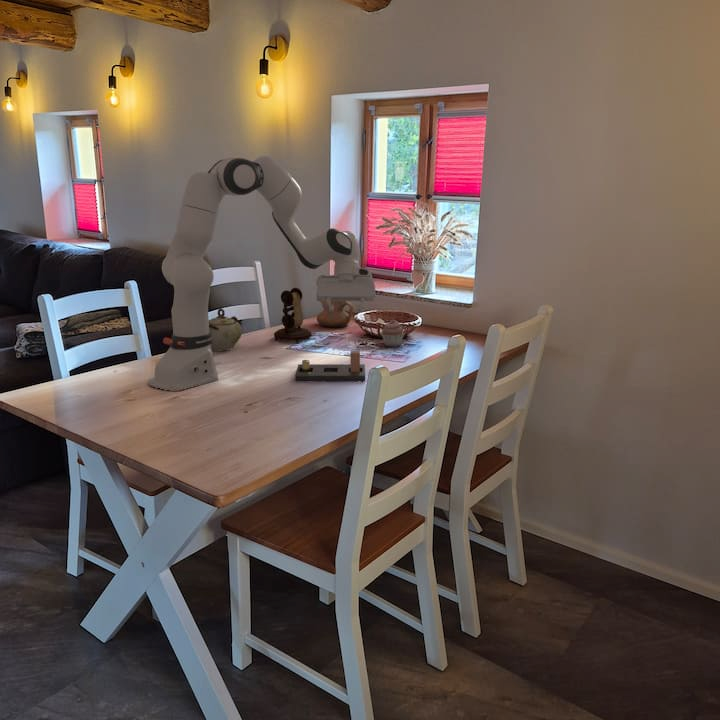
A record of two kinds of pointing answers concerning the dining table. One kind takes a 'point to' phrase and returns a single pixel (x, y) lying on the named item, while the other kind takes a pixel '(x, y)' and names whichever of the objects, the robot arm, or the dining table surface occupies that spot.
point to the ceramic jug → (334, 314)
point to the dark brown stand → (292, 317)
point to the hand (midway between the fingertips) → (345, 311)
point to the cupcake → (392, 334)
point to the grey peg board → (328, 372)
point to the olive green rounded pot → (224, 331)
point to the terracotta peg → (355, 361)
